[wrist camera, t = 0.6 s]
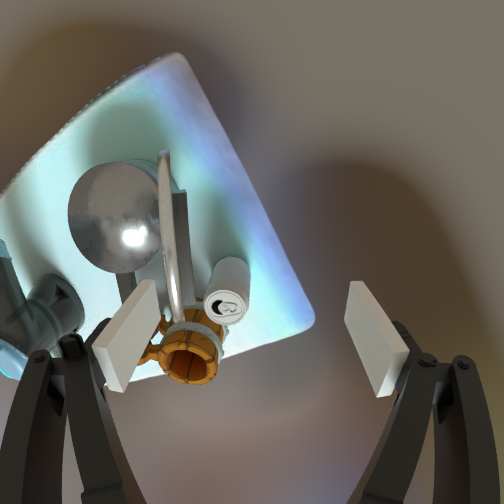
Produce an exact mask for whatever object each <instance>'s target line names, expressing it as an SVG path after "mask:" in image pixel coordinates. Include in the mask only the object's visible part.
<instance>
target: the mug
mask: <svg viewBox="0 0 504 504" xmlns="http://www.w3.org/2000/svg"><path fill="white" fill-rule="evenodd" d="M195 301H196V305H190V306H183V310H184V317H185V322H178V323H175V322H174V319H173V315H172V317H171V319H170V321H169V322H167V321H166V320H165V315H164V314H160V315H161V320H160V321H159V323H158V325H157V327H156V329H155V331H154V333H153V335H152V337H151V339H153V337H154V336H155V335H156V334H157V333H158V331H160V333H161V334H162V335H164V336H163V338H162V340H161V342H160V344H156V345H152V343H151V339H150V341H149V342H148V344H147V346H146V348H145V350H144V352H143V354H142V356H141V358H140V360H139V362H138V364H137V366H139V365H142V364H144V363H146V362H147V361H149V360H150V359H152V360H155V361H158V362H159V365H160V367H161V368H162V369H163V371H164V373H168V375H169V377H170V378H172V379H174V380H176V381H178V382H180V383H183V384H185V383H187V384H194V385H198V384H204V383H207V382H209V381H211V380H212V378H215V376H216V373H217V369H218V364H219V363H220V361H221V357H223V356H224V351H223V350H222V344H223V342H224V341H225V338H226V336H227V335H228V334H229V330H228V329H227V325H220V324H217V323H215V322H214V321H212V320H211V319H210V318H209V317H208V316H207V314H206V312H205V308H204V304H203V299H202V300H200V299H199V298H195Z"/></svg>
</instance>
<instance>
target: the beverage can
mask: <svg viewBox="0 0 504 504" xmlns="http://www.w3.org/2000/svg"><path fill="white" fill-rule="evenodd" d="M250 278H251V272H250V269H249V267H248V265H247V264H246V263H245V262H244V261H243V260H242V259H240V258H237V257H225V258H223V259H221V260H220V261H218V262H217V264H216V265H215V267H214V270H213V272H212V275H211V278H210V281H209V284H208V286H207V289H206V292H205V295H204V299H203V304H204V308H205V312H206V314H207V316H208V317H209V318H210V319H211V320H212V321H214V322H215V323H217V324H220V325H233V324H236V323H238V322H239V321H240V320H241V319H242V318H243V317H244V315H245V314H246V313H247V311H248V308H249V296H250Z"/></svg>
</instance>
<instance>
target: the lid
mask: <svg viewBox="0 0 504 504" xmlns="http://www.w3.org/2000/svg"><path fill="white" fill-rule="evenodd" d="M158 203H159V219H160V232H161V242H162V252H163V260H164V268H165V276H166V282H167V289H168V295H169V300H170V306H171V311H172V315H173V319H174V322H175V323H178V322H185V317H184V310H183V306H190V305H196V301H195V292H194V282H193V272H192V262H191V250H190V238H189V225H188V210H187V192H186V190H173V191H171V177H170V156H169V150H162V151H158Z"/></svg>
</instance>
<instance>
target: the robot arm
mask: <svg viewBox="0 0 504 504" xmlns="http://www.w3.org/2000/svg"><path fill="white" fill-rule="evenodd" d="M11 260H12V258H11V257H10V256H9V253H8V250H7V247H6V245H5V243H4V241H3V240H1V239H0V369H1V370H2V371H3V372H5V373H6V374H7V375H9V376H10V377H12V378H14V379H16V380H20V382H19V385H18V387H17V390H16V393H15V396H14V400H13V403H12V406H11V410H10V413H9V416H8V420H7V424H6V428H5V432H4V436H3V440H2V445H1V449H0V504H62V462H63V447H64V436H65V427H66V418H67V412H68V418H69V425H70V431H71V436H72V442H73V446H74V451H75V456H76V460H77V464H78V468H79V472H80V476H81V480H82V483H83V486H84V492H83V493H81V500H82V504H147V503H146V501H145V499H144V497H143V494H142V492H141V490H140V488H139V486H138V484H137V482H136V479H135V477H134V475H133V473H132V470H131V468H130V466H129V463H128V460H127V458H126V456H125V453H124V450H123V447H122V445H121V442H120V439H119V436H118V433H117V430H116V427H115V424H114V422H113V418H112V415H111V411H110V408H109V405H108V401H107V397H106V394H105V391H104V389H103V386H104V384H105V383H107V385H108V387H109V389H110V390H113V391H117V392H122V393H123V392H124V390H125V388H126V386H127V384H128V382H129V380H130V378H131V376H132V374H133V372H134V370H135V368H136V366H137V364H138V362H139V360H140V358H141V356H142V354H143V352H144V350H145V348H146V346H147V344H148V342H149V341H150V339H151V337H152V335H153V333H154V331H155V329H156V327H157V325H158V323H159V321H160V320H161V315H160V309H159V304H158V298H157V292H156V285H155V280H153V279H143V280H142V281H141V282H140V284H139V285H138V286H137V287H136V288H135V290H134V291H133V292H132V293H131V295H130V296H129V297H128V298H127V300H126V301H125V302H124V304H123V305H122V306H121V307H120V309H119V310H118V311H117V312H116V314H115V315H114V316H113V318H106V319H104V320H103V321H101V322H100V323H99V324H98V326H97V327H96V328H95V329H94V331H93V332H92V334H90V336H89V337H88V338H87V340H86V341H85V342H83V339H82V337H81V335H79V334H76V333H77V332H78V331H79V330H80V328H81V327H82V326H83V324H84V319H85V314H84V309H83V305H82V303H81V300H80V298H79V297H78V295H77V293H76V292H75V290H74V289H73V288H72V287H71V286H70V285H69V284H68V283H67V282H66V281H65V280H64V279H62V278H60V277H58V276H56V275H53V274H47V275H44V276H43V277H41V278H40V279H38V280H37V281H36V282H35V284H34V286H33V288H32V289H31V291H30V293H29V295H28V296H27V298H25V296H24V293H23V291H22V288H21V286H20V283H19V281H18V278H17V276H16V273H15V270H14V267H13V265H12V262H11ZM344 322H345V324H346V326H347V328H348V331H349V333H350V335H351V337H352V340H353V342H354V344H355V347H356V349H357V351H358V353H359V356H360V358H361V360H362V363H363V365H364V368H365V370H366V373H367V375H368V377H369V380H370V382H371V385H372V387H373V389H374V392H375V395H376V397H383V396H388V395H391V394H392V392H393V389H394V387H396V389H397V391H398V393H397V396H396V398H395V400H394V402H393V404H392V406H391V408H392V409H391V411H390V414H389V417H388V420H387V422H386V424H385V427H384V429H383V432H382V434H381V436H380V439H379V441H378V443H377V446H376V448H375V450H374V452H373V455H372V456H371V459H370V461H369V463H368V465H367V467H366V469H365V471H364V473H363V475H362V476H361V478H360V480H359V482H358V484H357V486H356V488H355V489H354V491H353V493H352V495H351V496H350V498H349V500H348V501H347V503H346V504H403V501H404V498H405V495H406V493H407V490H408V488H409V485H410V483H411V480H412V477H413V474H414V471H415V468H416V465H417V462H418V459H419V456H420V453H421V449H422V446H423V442H424V439H425V435H426V431H427V427H428V423H429V419H430V414H431V409H432V407H433V421H434V441H435V442H434V443H435V471H434V492H433V503H432V504H500V483H499V471H498V461H497V454H496V448H495V440H494V435H493V429H492V424H491V420H490V415H489V411H488V407H487V403H486V399H485V395H484V391H483V387H482V384H481V381H480V377H479V374H478V371H477V368H476V365H475V363H474V361H473V360H472V359H471V358H469V357H467V356H464V355H457V356H456V357H454V359H453V361H452V363H451V364H450V363H438V360H437V359H436V358H435V357H434V356H433V355H431V354H428V353H423V352H422V351H421V349H420V348H419V346H418V345H417V343H416V342H415V340H414V339H413V338H412V336H411V335H410V333H408V330H407V329H406V327H405V326H404V325H403V324H401V323H400V322H398V321H390V320H389V318H388V317H387V316H386V314H385V312H384V311H383V310H382V308H381V307H380V305H379V304H378V302H377V301H376V299H375V298H374V297H373V295H372V294H371V292H370V291H369V290H368V288H367V287H366V285H365V284H364V283H363V281H351V283H350V289H349V295H348V301H347V306H346V312H345V317H344ZM56 344H57V347H58V349H59V351H60V354H61V356H62V358H52V357H51V355H50V352H51V350H52V349H53V348H54V347H55V346H56Z"/></svg>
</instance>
